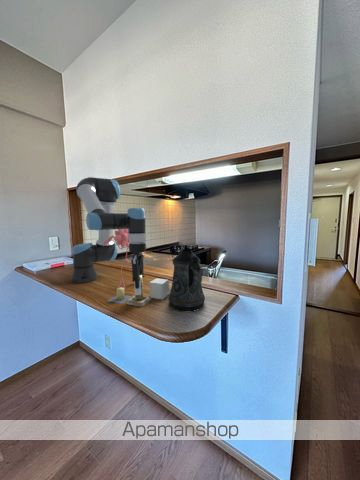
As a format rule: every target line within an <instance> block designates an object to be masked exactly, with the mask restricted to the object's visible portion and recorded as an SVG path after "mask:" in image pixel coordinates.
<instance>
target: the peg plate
mask: <svg viewBox="0 0 360 480" xmlns="http://www.w3.org/2000/svg"><path fill="white" fill-rule="evenodd" d="M115 290H116V295H115V296H113V297H112V298H109V299H108V300H107V302H109V303H110V302H111V303H115V304H121V305H123V304H124V303H127V300H128V299H130V298H132V297H133V295H125V288H124V286H123V287H122V286H121V287H120V286H119V288H116V289H115Z"/></svg>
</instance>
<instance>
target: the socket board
mask: <svg viewBox="0 0 360 480" xmlns="http://www.w3.org/2000/svg"><path fill="white" fill-rule="evenodd" d="M132 296H133V295H132ZM150 301H152V298H151V297H150V295H144V294H143V297H142V298H135V295H134V296H133V297H132V298H130V299H128V300H127V301H126V305H130V306H135V307H143V306H145V305H146V304H147V303H149V302H150Z"/></svg>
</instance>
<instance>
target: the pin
mask: <svg viewBox="0 0 360 480" xmlns="http://www.w3.org/2000/svg"><path fill="white" fill-rule="evenodd" d="M142 278H143V277H142V275H140V280H141V295H135V294H134V296H135V298H142V297H143V295H144V284H143V283H144V281H143V282H142Z"/></svg>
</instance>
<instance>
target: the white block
mask: <svg viewBox="0 0 360 480" xmlns="http://www.w3.org/2000/svg"><path fill="white" fill-rule="evenodd" d="M169 281H170V280H169V279H166V278H158V277H157V278H154V279H153V280H151V281H149V296H150V297H151V299H157V300H164V299H165V298H166V297H169V294H170V287H169V286H170V282H169Z"/></svg>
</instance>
